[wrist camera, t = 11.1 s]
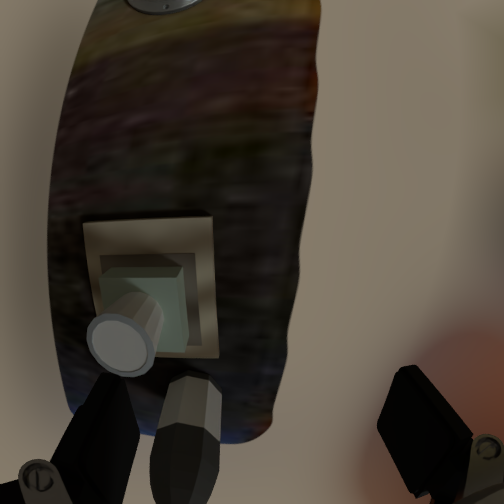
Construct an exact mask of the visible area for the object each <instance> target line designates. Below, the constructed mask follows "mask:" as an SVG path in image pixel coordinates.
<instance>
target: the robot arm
mask: <svg viewBox="0 0 504 504" xmlns="http://www.w3.org/2000/svg"><path fill="white" fill-rule="evenodd" d="M201 1H202V0H128V2H129V4H130V5H131V6H132V7H133V8H134V9H136V10H137V11H139V12H142V13H145V14H150V15H164V14H171V13H176V12H179V11H182V10H185V9H188V8H190V7H192V6H194V5H196V4H198V3H199V2H201ZM377 429H378V432H379V433H380V435H381V437H382V439H383V441H384V443H385V445H386V447H387V449H388V451H389V453H390V455H391V457H392V459H393V461H394V463H395V465H396V466H397V468H398V471H399V472H400V475H401V477H402V478H403V480H404V483H405V485H406V487H407V489H408V490H409V492H410V493H413V494H414V496H415V498H419V497H422V496H424V495H427V494H428V493H430V495H431V501H430V504H504V445H503V443H502V441H501V440H500V439H499V438H497V437H496V436H493V435H490V434H482V435H479V436H478V437H476V438H475V439H474V440H473V439H472V438H471V437H472V436H473V433H472V432H471V430H470V429H469V428H468V427H467V425H466V424H465V423H464V422H463V420H462V419H461V418H460V417H459V415H458V414H457V413H456V412H455V410H454V409H453V408H452V407H451V406H450V404H449V403H448V402H447V401H446V399H445V398H444V397H443V396H442V395H441V393H440V392H439V391H438V390H437V389H436V388H435V386H434V385H433V384H432V383H431V382H430V380H429V379H428V378H427V377H426V376H425V375H424V373H423V372H422V371H421V370H420V369H419V367H418V366H416V365H409V366H404V367H401V368H400V369H399V371H398V372H396V373H395V375H394V379H393V381H392V384H391V387H390V390H389V393H388V396H387V398H386V401H385V404H384V406H383V409H382V411H381V414H380V416H379V419H378V421H377ZM139 439H140V431H139V427H138V424H137V421H136V418H135V415H134V412H133V408H132V405H131V401H130V398H129V394H128V391H127V387H126V383H125V380H124V379H120V376H119V375H118V374H111V373H104V372H103V373H101V374H100V376H99V378H98V379H97V381H96V383H95V385H94V386H93V388H92V390H91V392H90V394H89V395H88V397H87V399H86V401H85V403H84V404H83V405H81V406H79V408H78V409H77V411H76V412H75V414H74V416H73V418H72V420H71V422H70V423H69V425H68V427H67V429H66V431H65V433H64V435H63V437H62V438H61V440H60V443H59V445H58V447H57V448H56V450H55V452H54V454H53V456H52V458H51V460H50V462H48V461H46V460H42V459H34V460H31V461H28V462H26V463H25V464H24V465H23V466H22V467H21V469H20V470H19V475H18V479H17V480H14V481H10V482H7V483H3V484H0V504H122V502H123V499H124V495H125V491H126V487H127V483H128V479H129V476H130V472H131V468H132V464H133V460H134V457H135V454H136V450H137V446H138V443H139Z"/></svg>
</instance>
